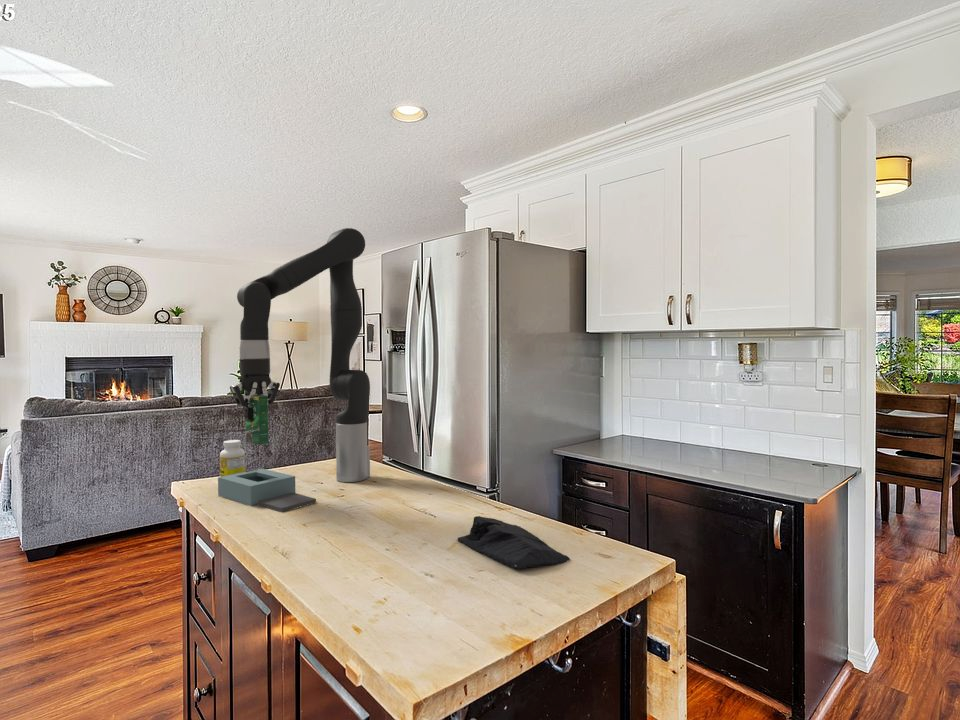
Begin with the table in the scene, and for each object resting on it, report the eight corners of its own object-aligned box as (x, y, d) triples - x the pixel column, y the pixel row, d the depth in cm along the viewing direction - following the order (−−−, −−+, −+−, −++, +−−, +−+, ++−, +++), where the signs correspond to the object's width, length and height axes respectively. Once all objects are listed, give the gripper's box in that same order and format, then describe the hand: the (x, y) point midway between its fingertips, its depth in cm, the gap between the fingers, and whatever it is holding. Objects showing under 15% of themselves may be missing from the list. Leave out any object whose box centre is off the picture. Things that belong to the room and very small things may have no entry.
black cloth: (506, 581, 93) (506, 553, 93) (452, 540, 112) (452, 518, 112) (577, 564, 100) (577, 538, 100) (514, 528, 119) (514, 507, 119)
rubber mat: (292, 496, 144) (292, 492, 144) (316, 502, 138) (316, 498, 138) (258, 505, 136) (258, 501, 136) (281, 512, 130) (281, 508, 130)
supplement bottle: (220, 483, 158) (219, 440, 158) (244, 481, 161) (244, 438, 161) (220, 488, 152) (219, 443, 152) (245, 486, 155) (244, 442, 154)
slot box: (262, 485, 155) (262, 468, 155) (295, 494, 146) (295, 476, 146) (218, 495, 145) (217, 477, 145) (250, 505, 135) (250, 486, 135)
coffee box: (244, 442, 147) (243, 394, 146) (254, 440, 149) (254, 393, 148) (258, 445, 141) (258, 396, 141) (269, 444, 144) (268, 395, 143)
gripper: (270, 356, 152) (271, 416, 153) (222, 357, 141) (223, 422, 142) (286, 356, 148) (287, 418, 148) (237, 357, 137) (238, 425, 137)
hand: (256, 420), depth 145 cm, fingers closed on coffee box, 3 cm apart
